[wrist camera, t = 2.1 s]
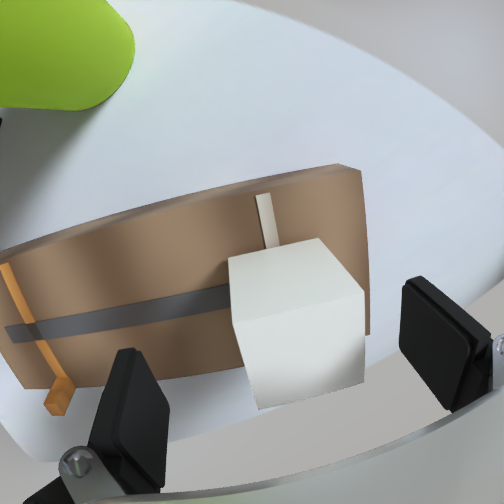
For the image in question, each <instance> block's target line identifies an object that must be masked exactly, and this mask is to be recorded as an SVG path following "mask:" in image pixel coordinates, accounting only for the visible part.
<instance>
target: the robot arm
mask: <svg viewBox="0 0 504 504" xmlns="http://www.w3.org/2000/svg"><path fill="white" fill-rule="evenodd" d="M490 337H491V333H490V332H489V331H488V330H486V329H485V328H484V327H483V326H482V325H481V324H480V323H479V322H477V321H476V320H475V319H474V318H473V317H472V316H470V315H469V314H468V313H467V312H466V311H465V310H463V309H462V308H461V307H460V306H459V305H457V304H456V303H455V302H454V301H453V300H451V299H450V298H449V297H448V296H446V295H445V294H444V293H443V292H442V291H440V290H439V289H438V288H437V287H435V286H434V285H433V284H432V283H430V282H429V281H428V280H426V279H425V278H424V277H422V276H417V277H414V278H411V279H408V280H407V281H406V283H405V285H404V286H403V287H402V303H401V320H400V333H399V348H400V350H401V352H402V353H403V354H404V356H405V357H406V358H407V360H408V361H409V362H410V364H411V365H412V366H413V367H414V369H415V370H416V371H417V373H418V374H419V375H420V377H421V378H422V379H423V381H424V382H425V383H426V384H427V386H428V387H429V389H430V390H431V391H432V393H433V394H434V395H435V397H436V398H437V399H438V401H439V402H440V403H441V405H442V406H443V407H444V409H446V410H450V411H451V413H452V414H450V415H448V416H446V417H444V418H442V419H440V420H438V421H437V422H434V423H432V424H430V425H428V426H426V427H424V428H422V429H420V430H418V431H416V432H414V433H411V434H409V435H407V436H405V437H403V438H400V439H398V440H395V441H393V442H391V443H388V444H386V445H383V446H380V447H378V448H375V449H373V450H370V451H368V452H365V453H362V454H359V455H356V456H353V457H351V458H348V459H345V460H342V461H339V462H335V463H332V464H329V465H326V466H322V467H319V468H315V469H311V470H308V471H304V472H300V473H296V474H292V475H288V476H283V477H279V478H274V479H270V480H265V481H260V482H254V483H249V484H243V485H237V486H230V487H223V488H216V489H207V490H197V491H187V492H175V493H160V488H163V487H164V485H165V472H166V454H167V439H168V426H169V414H170V408H169V404H168V401H167V399H166V398H165V396H164V394H163V392H162V390H161V388H160V387H159V385H158V383H157V381H156V379H155V377H154V375H153V373H152V371H151V370H150V368H149V366H148V364H147V362H146V360H145V358H144V356H143V354H142V352H141V351H140V350H138V351H137V350H136V349H135V348H134V347H131V348H125V349H119V350H118V351H117V354H116V356H115V359H114V362H113V365H112V368H111V371H110V374H109V377H108V380H107V383H106V386H105V389H104V391H103V393H102V396H101V400H100V403H99V406H98V409H97V413H96V416H95V419H94V423H93V426H92V430H91V433H90V437H89V441H88V444H87V446H76V447H73V448H71V449H69V450H68V451H67V452H66V453H64V455H63V456H62V457H61V459H60V462H59V469H58V470H59V473H60V476H59V477H58V478H56V479H55V480H54V481H52V482H51V483H49V484H48V485H46V486H45V487H43V488H42V489H41V490H39V491H38V492H36V493H35V494H33V495H32V496H30V497H29V498H27V499H26V500H25V501H24V502H23V504H504V334H502V335H499V336H498V337H496V338H495V340H493V339H491V338H490Z"/></svg>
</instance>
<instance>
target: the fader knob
mask: <svg viewBox="0 0 504 504" xmlns="http://www.w3.org/2000/svg"><path fill="white" fill-rule="evenodd" d="M228 266H229V282H230V297H231V311H232V324H233V327H234V331H235V334H236V338H237V341H238V345H239V348H240V351H241V355H242V358H243V362H244V365H245V368H246V372H247V375H248V378H249V381H250V385H251V388H252V391H253V394H254V398H255V401H256V404H257V407H258V410H259V409H264V408H269V407H274V406H278V405H283V404H287V403H292V402H296V401H300V400H304V399H308V398H312V397H316V396H319V395H323V394H327V393H330V392H334V391H337V390H341V389H344V388H347V387H350V386H354V385H357V384H360V383H363V382H364V367H365V295H364V291H363V289H362V288H361V287H360V286H359V284H358V283H357V282H356V281H355V280H354V279H353V277H352V276H351V275H350V274H349V273H348V271H347V270H346V269H345V268H344V267H343V265H342V264H341V263H340V262H339V261H338V260H337V258H336V257H335V256H334V255H333V254H332V253H331V252H330V250H329V249H328V248H327V247H326V246H325V245H324V243H323V242H322V241H321V240H320V239H319V238H315V239H310V240H306V241H301V242H297V243H292V244H288V245H283V246H279V247H274V248H270V249H265V250H261V251H256V252H252V253H247V254H243V255H238V256H234V257H229V258H228Z"/></svg>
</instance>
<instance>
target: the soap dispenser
mask: <svg viewBox="0 0 504 504" xmlns="http://www.w3.org/2000/svg"><path fill="white" fill-rule="evenodd" d="M134 52H135V42H134V37H133V33H132V31H131V29H130V27H129V25H128V24H127V23H126V22H125V21H124V19H123V18H122V17H121V16H120V15H119V14H118V13H117V12H116V11H115V10H114V9H113V8H112V7H111V5H110V4H109V3H108V2H107V1H106V0H0V107H4V108H35V109H52V110H65V111H81V110H85V109H89V108H92V107H94V106H96V105H98V104H100V103H102V102H103V101H105V100H106V99H107V98H109V97H110V96H111V95H112V94H113V93H114V92H115V91H116V90H117V89H118V88H119V87H120V85H121V84H122V83H123V81H124V80H125V78H126V76H127V75H128V73H129V70H130V68H131V65H132V62H133V58H134Z"/></svg>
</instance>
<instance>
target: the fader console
mask: <svg viewBox="0 0 504 504" xmlns="http://www.w3.org/2000/svg"><path fill="white" fill-rule="evenodd" d="M315 238H319V239H320V240H321V241H322V242H323V243H324V245H325V246H326V247H327V248H328V249H329V250H330V252H331V253H332V254H333V255H334V256H335V257H336V258H337V260H338V261H339V262H340V263H341V264H342V265H343V267H344V268H345V269H346V270H347V271H348V273H349V274H350V275H351V276H352V277H353V279H354V280H355V281H356V282H357V283H358V284H359V286H360V287H361V288H362V289H363V291H364V295H365V336H366V335H370V284H369V259H368V241H367V227H366V215H365V204H364V194H363V184H362V176H361V171H360V170H357V169H354V168H350V167H347V166H344V165H341V164H332V165H326V166H321V167H315V168H309V169H304V170H298V171H293V172H288V173H283V174H277V175H272V176H267V177H263V178H258V179H253V180H248V181H244V182H239V183H234V184H230V185H225V186H221V187H217V188H212V189H208V190H204V191H200V192H195V193H191V194H187V195H183V196H179V197H175V198H171V199H167V200H164V201H160V202H156V203H152V204H148V205H145V206H141V207H137V208H134V209H130V210H127V211H123V212H120V213H116V214H113V215H109V216H106V217H103V218H99V219H96V220H93V221H89V222H86V223H83V224H80V225H76V226H73V227H70V228H67V229H64V230H61V231H58V232H55V233H52V234H49V235H46V236H43V237H40V238H37V239H34V240H31V241H28V242H26V243H23V244H20V245H17V246H14V247H12V248H9V249H6V250H3V251H1V252H0V352H1V354H2V356H3V357H4V359H5V360H6V362H7V364H8V365H9V367H10V368H11V370H12V371H13V373H14V374H15V376H16V377H17V379H18V380H19V382H20V383H21V385H22V386H23V387H24V389H51V390H50V392H49V394H48V395H47V398H46V400H45V402H44V406H45V407H46V408H47V410H48V411H49V412H50V413H51V415H52V416H64V415H65V413H66V410H67V408H68V405H69V403H70V401H71V398H72V396H73V394H74V391H75V389H76V388H82V387H97V386H106V383H107V380H108V377H109V374H110V371H111V368H112V365H113V362H114V359H115V356H116V354H117V351H118V350H119V349H125V348H131V347H134V348H135V349H136V350H137V351H138V350H140V351H141V352H142V354H143V356H144V358H145V360H146V362H147V364H148V366H149V368H150V370H151V371H152V373H153V375H154V377H155V379H156V381H158V380H165V379H173V378H180V377H186V376H193V375H199V374H205V373H211V372H217V371H222V370H228V369H233V368H238V367H243V366H245V365H244V362H243V358H242V355H241V351H240V348H239V345H238V341H237V338H236V334H235V331H234V327H233V324H232V311H231V297H230V282H229V266H228V258H229V257H234V256H238V255H243V254H247V253H252V252H256V251H261V250H265V249H270V248H274V247H279V246H283V245H288V244H292V243H297V242H301V241H306V240H310V239H315Z"/></svg>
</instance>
